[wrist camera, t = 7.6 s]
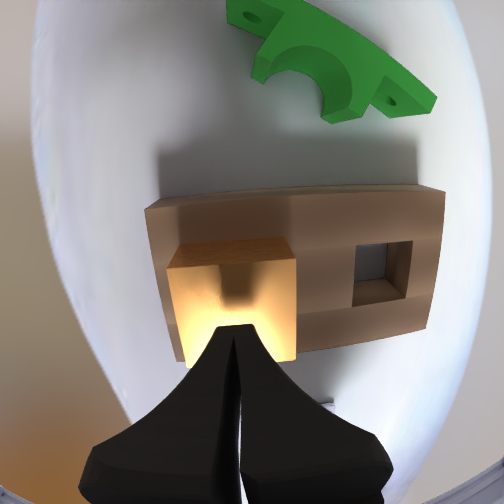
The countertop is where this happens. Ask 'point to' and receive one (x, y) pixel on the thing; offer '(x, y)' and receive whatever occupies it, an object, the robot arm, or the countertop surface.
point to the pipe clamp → (329, 59)
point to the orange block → (235, 292)
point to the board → (320, 252)
